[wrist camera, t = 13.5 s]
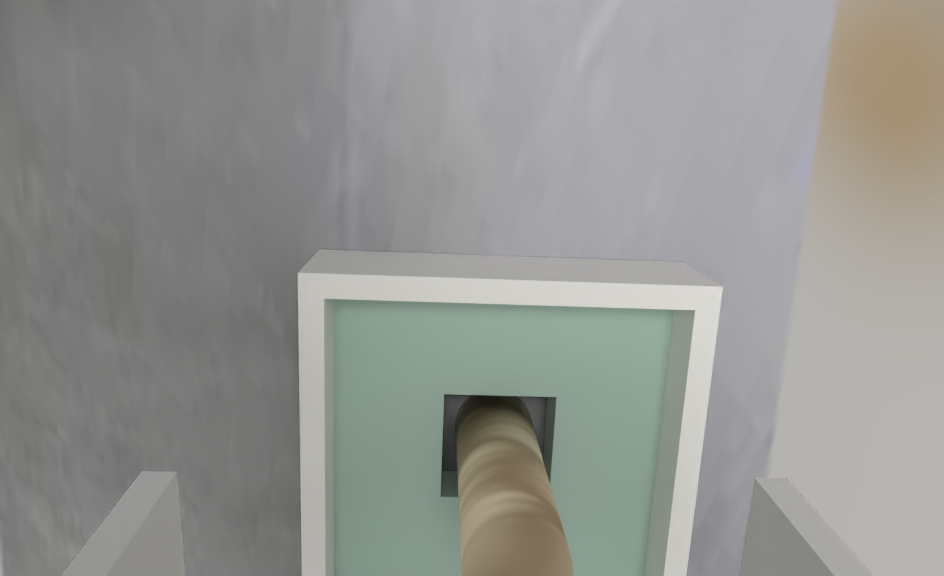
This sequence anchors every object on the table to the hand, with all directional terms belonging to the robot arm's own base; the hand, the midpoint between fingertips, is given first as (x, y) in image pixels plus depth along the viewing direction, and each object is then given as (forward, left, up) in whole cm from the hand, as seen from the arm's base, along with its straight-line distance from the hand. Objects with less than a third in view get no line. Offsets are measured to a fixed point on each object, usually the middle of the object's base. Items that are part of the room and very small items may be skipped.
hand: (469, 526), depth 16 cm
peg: (+3, -8, -24) cm, 26 cm away
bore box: (+3, -8, -24) cm, 25 cm away
